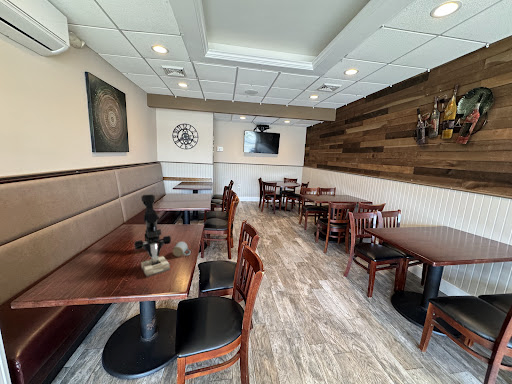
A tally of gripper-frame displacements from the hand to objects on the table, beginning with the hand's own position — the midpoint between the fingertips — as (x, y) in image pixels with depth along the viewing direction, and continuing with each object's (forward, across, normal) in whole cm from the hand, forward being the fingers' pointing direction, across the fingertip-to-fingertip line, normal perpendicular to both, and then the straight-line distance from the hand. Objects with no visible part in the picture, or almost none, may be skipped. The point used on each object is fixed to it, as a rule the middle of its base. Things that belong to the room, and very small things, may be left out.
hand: (154, 256), depth 118 cm
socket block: (+5, 0, +7) cm, 9 cm away
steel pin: (+4, 0, +6) cm, 7 cm away
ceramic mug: (-3, +17, +16) cm, 23 cm away
